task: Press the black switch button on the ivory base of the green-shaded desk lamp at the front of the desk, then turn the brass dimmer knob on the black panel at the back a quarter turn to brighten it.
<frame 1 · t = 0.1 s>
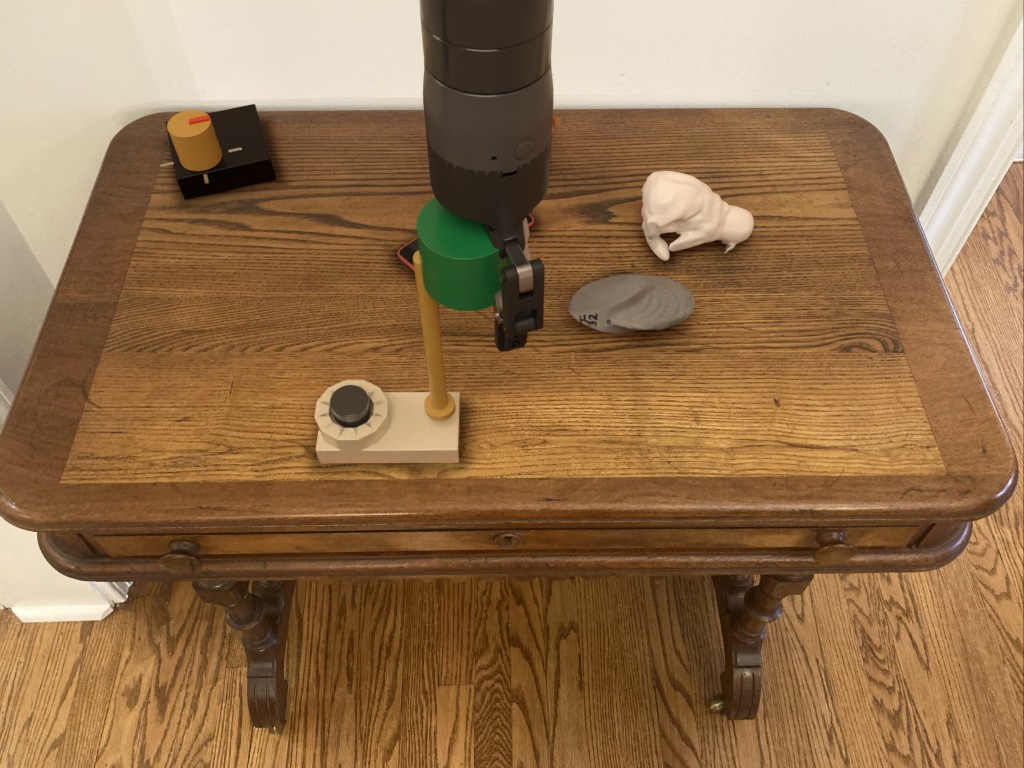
hand: (491, 303, 64), 16 cm above the table, tool pointing down, fingers open, 8 cm apart
lamp base: (392, 433, 75), on the table
apple: (487, 161, 96), on the table
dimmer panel: (224, 161, 96), on the table
dimmer knob: (194, 139, 90), point 5 cm above the table, hinge at 0.0°
cream figurine: (690, 243, 89), on the table
lamp: (440, 408, 72), resting on lamp base
smartphone: (467, 240, 89), on the table
lamp switch: (350, 406, 72), point 4 cm above the table, slide at 0.1 cm
seashell: (630, 316, 84), on the table
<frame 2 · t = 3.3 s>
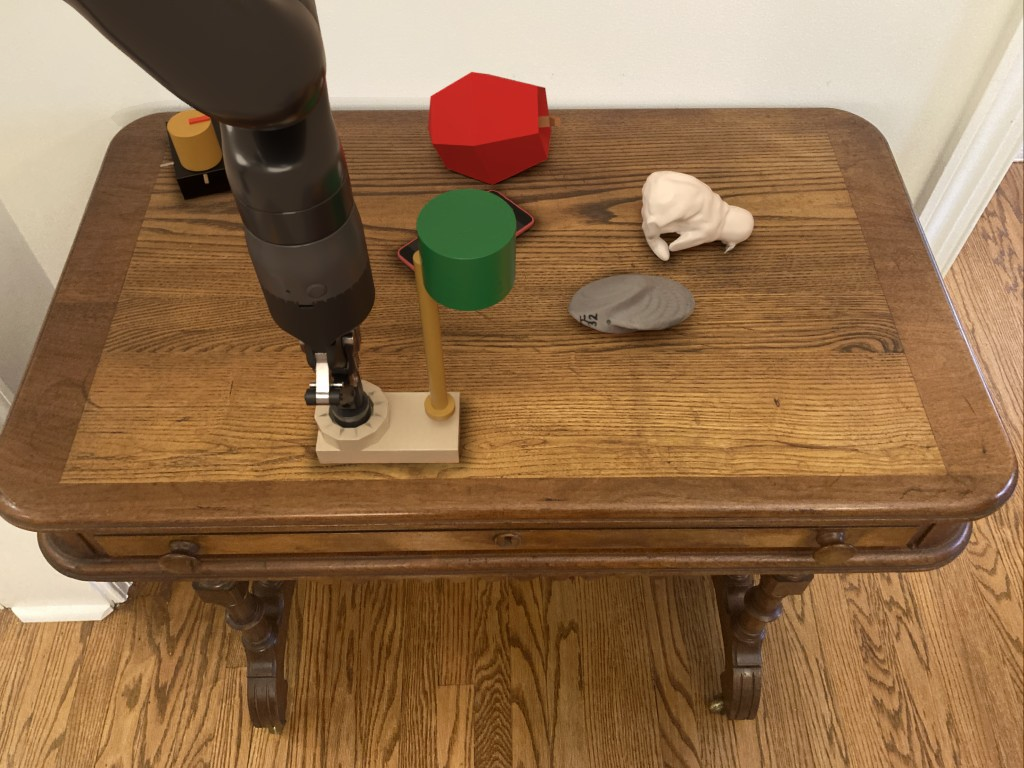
hand: (350, 401, 71), 5 cm above the table, tool pointing down, fingers closed
lamp switch: (350, 407, 72), point 4 cm above the table, slide at -0.2 cm, touching gripper
everything else where it was.
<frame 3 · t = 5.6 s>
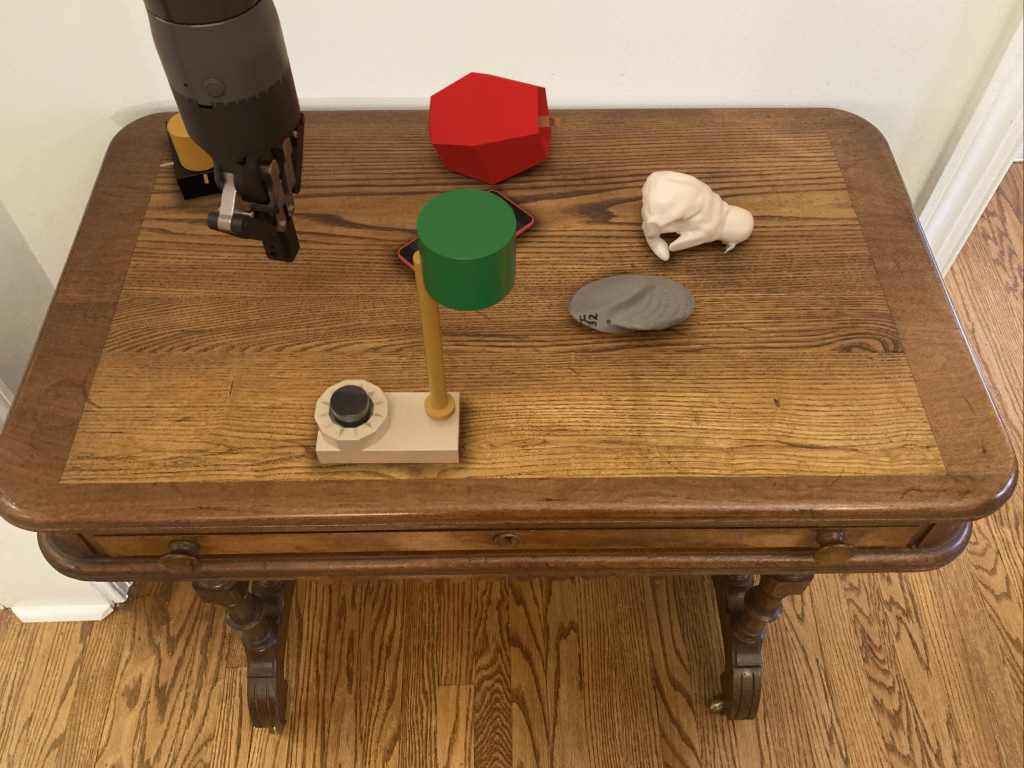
hand: (284, 254, 67), 15 cm above the table, tool pointing down, fingers closed
lamp switch: (350, 406, 72), point 4 cm above the table, slide at 0.1 cm
everything else where it was.
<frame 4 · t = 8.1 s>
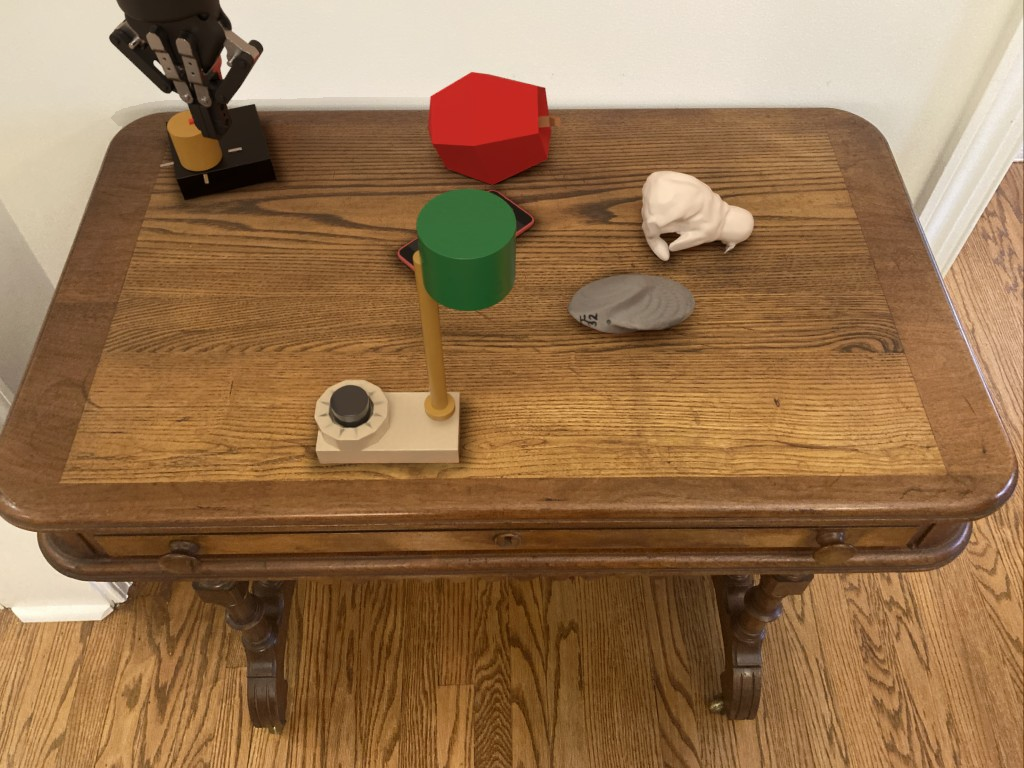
hand: (216, 133, 75), 15 cm above the table, tool pointing down, fingers closed
nothing on the table moved.
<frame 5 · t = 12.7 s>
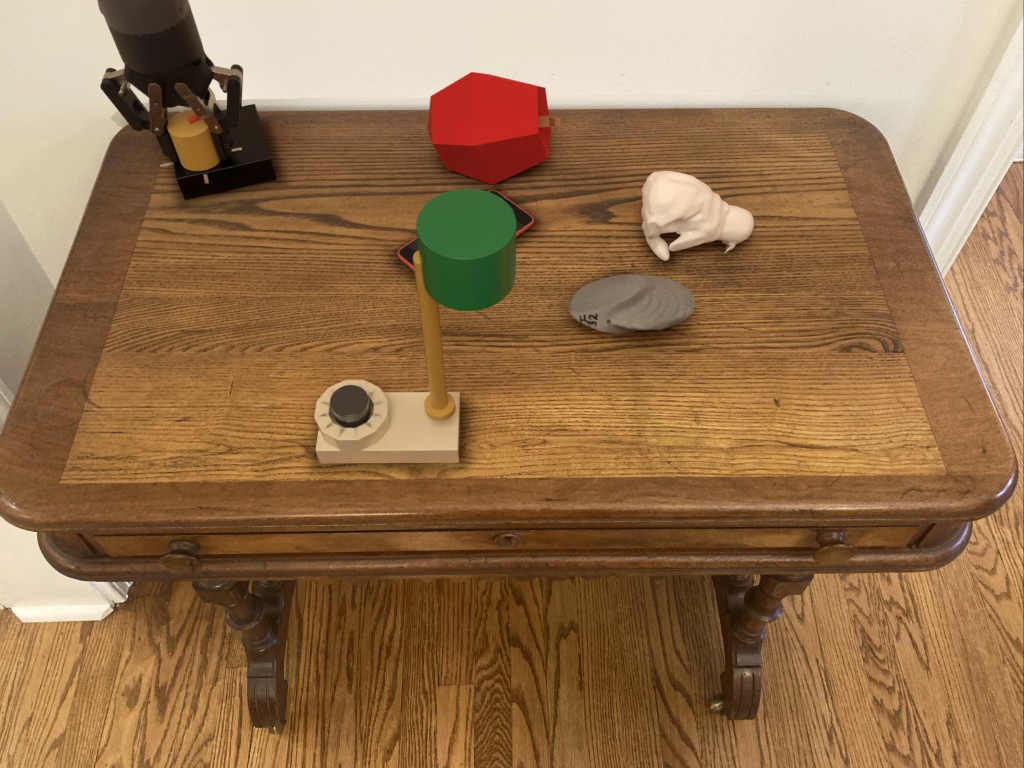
hand: (200, 155, 92), 3 cm above the table, tool pointing down, fingers open, 4 cm apart
dimmer knob: (194, 139, 90), point 5 cm above the table, hinge at 25.7°
everything else where it was.
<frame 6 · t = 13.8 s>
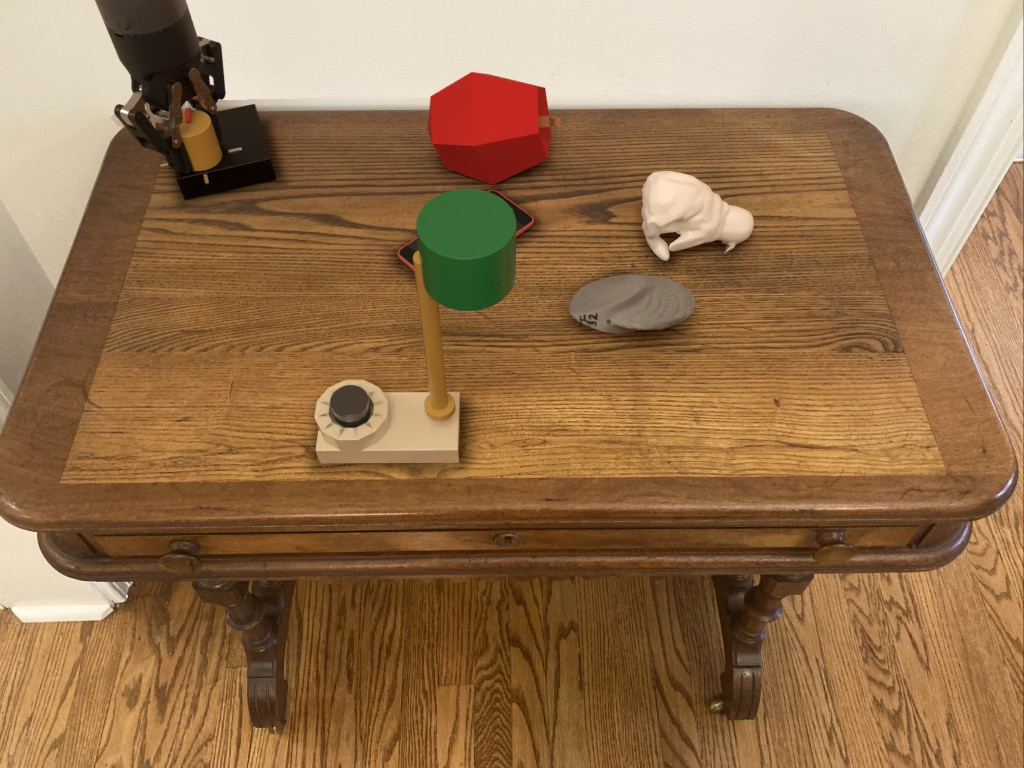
hand: (198, 155, 92), 3 cm above the table, tool pointing down, fingers closed on dimmer knob, 4 cm apart
dimmer knob: (194, 139, 90), point 5 cm above the table, hinge at 84.7°, touching gripper
everything else where it was.
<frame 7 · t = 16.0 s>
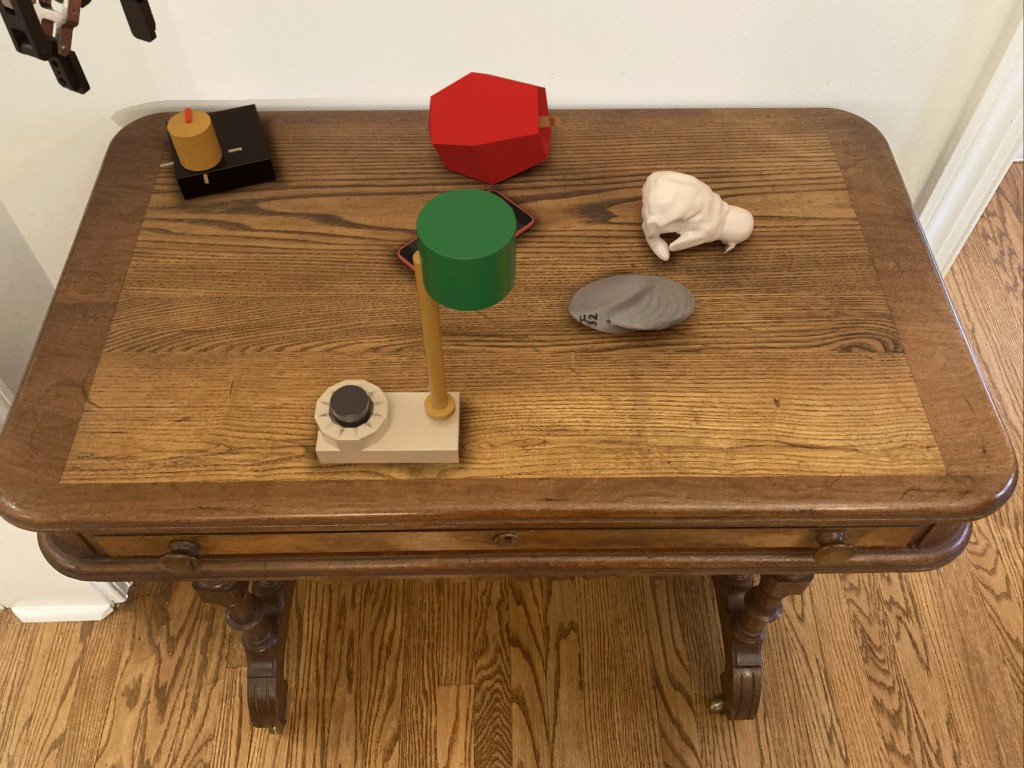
hand: (113, 63, 74), 20 cm above the table, tool pointing down, fingers open, 8 cm apart
dimmer knob: (194, 139, 90), point 5 cm above the table, hinge at 85.1°
everything else where it was.
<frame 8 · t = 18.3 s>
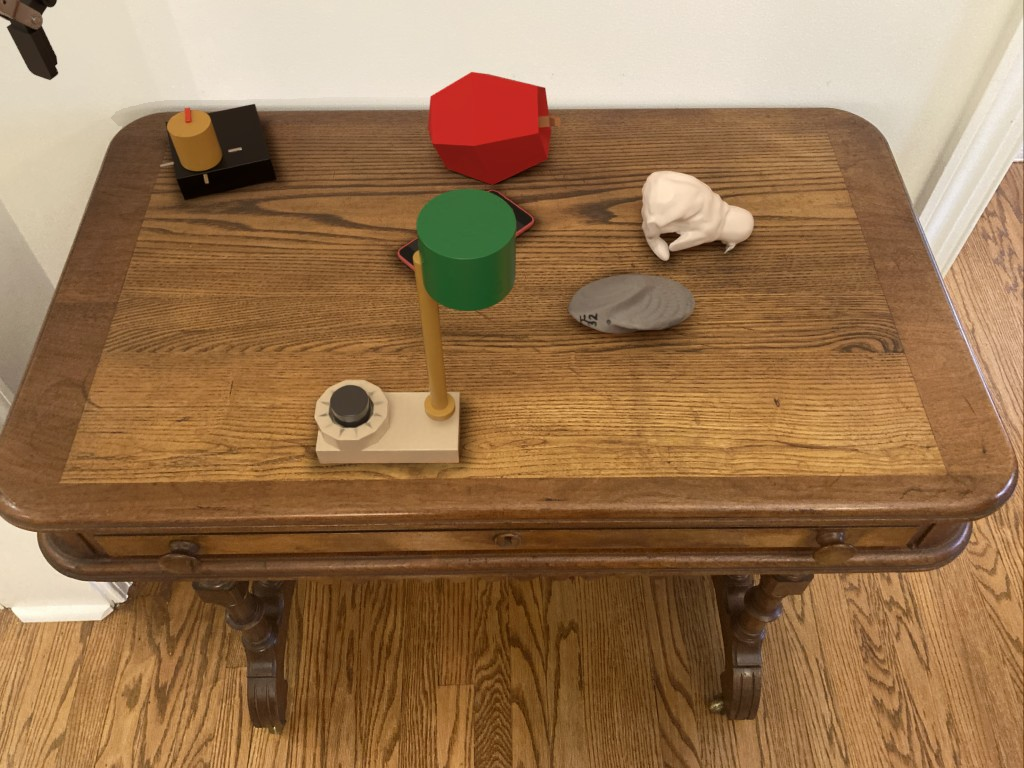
hand: (2, 108, 60), 26 cm above the table, tool pointing down, fingers open, 8 cm apart
nothing on the table moved.
at the end: lamp switch pushed in 1.1 cm at the most during the clip, back to where it started at the end; lamp switch slide at 0.1 cm; dimmer knob at +85° (first picture: +0°) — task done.
